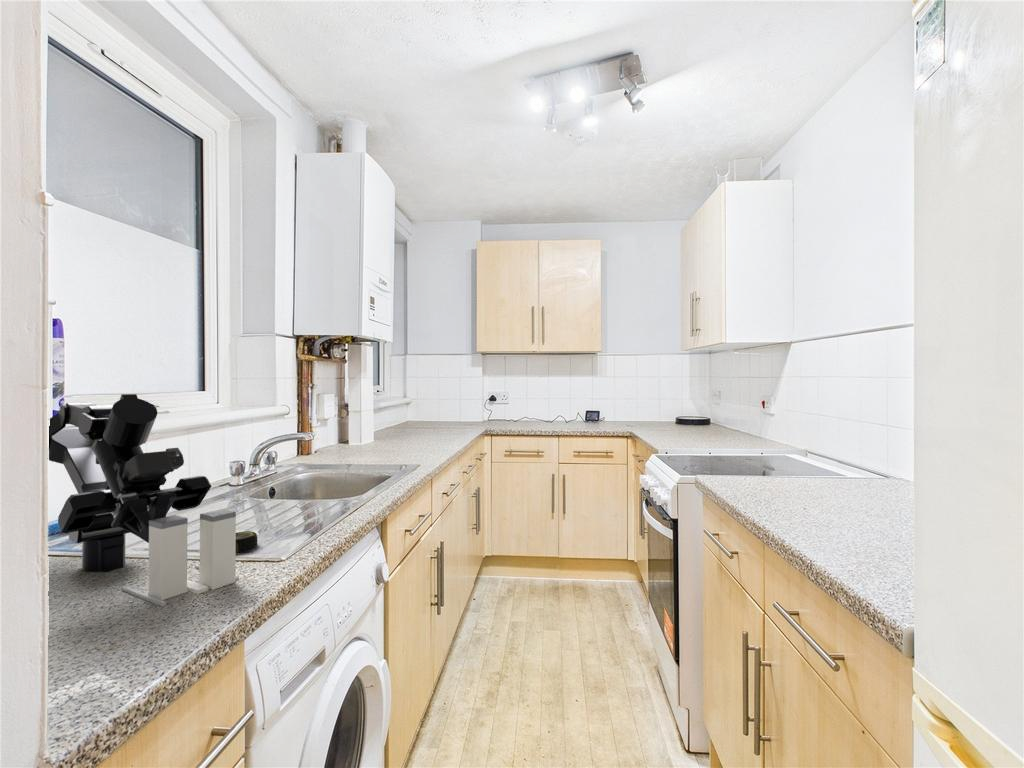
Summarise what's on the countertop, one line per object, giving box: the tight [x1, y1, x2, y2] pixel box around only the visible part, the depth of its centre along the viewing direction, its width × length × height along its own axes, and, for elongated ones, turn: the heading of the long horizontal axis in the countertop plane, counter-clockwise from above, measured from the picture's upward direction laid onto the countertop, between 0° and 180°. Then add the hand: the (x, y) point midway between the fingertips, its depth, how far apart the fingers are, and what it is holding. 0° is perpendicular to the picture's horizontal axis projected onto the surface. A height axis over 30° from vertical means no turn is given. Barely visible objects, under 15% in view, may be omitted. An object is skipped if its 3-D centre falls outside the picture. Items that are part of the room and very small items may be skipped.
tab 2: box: [199, 508, 237, 591], centre depth 77 cm, size 4×4×11 cm
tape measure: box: [236, 530, 258, 554], centre depth 94 cm, size 7×7×4 cm
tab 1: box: [148, 514, 188, 601], centre depth 73 cm, size 4×4×11 cm
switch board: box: [121, 564, 240, 607], centre depth 77 cm, size 14×11×2 cm
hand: (160, 545), depth 74 cm, fingers closed, pressing on tab 1
